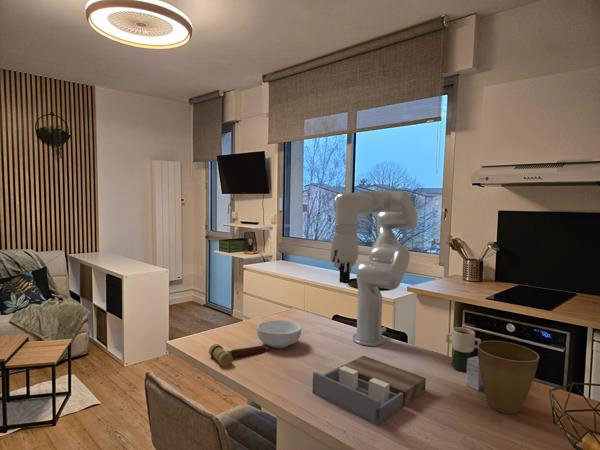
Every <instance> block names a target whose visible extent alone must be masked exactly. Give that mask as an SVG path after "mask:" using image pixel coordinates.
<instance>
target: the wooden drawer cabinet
mask: <svg viewBox="0 0 600 450" xmlns="http://www.w3.org/2000/svg"><path fill="white" fill-rule="evenodd" d="M343 366H346V367H348V368H351V369H353V370H356V371H358V378H359V379H361V380H364V381H366V382H369V380H371V379H373V378H376V379H378V380H381V381H383V382H386V383H388V384H390V385H389V391H390V392H393V393H395V394H399V393H400V392H401V393H403V407H405V406H407V405H408V404H410V403H411V402H412V401H414V400H415V399H417V398H418V397H419V396H421V395H422V394H424V393H425V392H426V383H427V382H426V380H427V379H426V377H423V376H420V375H418V374H415V373H413V372H410V371H407V370H404V369H402V368H399V367H397V366H394V365H391V364H387V363H385V362H383V361H380V360H377V359H375V358H372V357H369V356H366V355H362V356H360V357H357V358H356V359H354V360H352V361H349V362H347V363H345V364H343V365H341V366H340V368H341V367H343Z"/></svg>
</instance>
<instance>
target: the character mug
mask: <svg viewBox="0 0 600 450" xmlns="http://www.w3.org/2000/svg"><path fill="white" fill-rule="evenodd" d="M450 337H451V339H450ZM445 342H446V343H449V344H451V348H452V349H453V350H454V351H453V355H452V360H451V366H452V367H453V368H454V369H456V370H459V371H467V359H468V358H472V355H471V354H472V352H474V350H475V349H477V345H478V343H480V342H482V339H481V338H478V337H476V332H475V330H473V329H471V328H468V327H461V326H457V327H452V329H451V333H450V332H446V333H445ZM475 342H477V344H476V343H475Z"/></svg>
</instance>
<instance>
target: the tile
mask: <svg viewBox="0 0 600 450" xmlns="http://www.w3.org/2000/svg"><path fill="white" fill-rule="evenodd" d="M389 385H390V384H388V383H386V382H383V381H381V380H378V379H376V378H373V379H371V380H369V389H368V395H369V396H371V397H373V398H375V399H378V400H380V401H381V402H380V404H383V403H385V402H386V401H388V400H389Z"/></svg>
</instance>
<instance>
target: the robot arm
mask: <svg viewBox="0 0 600 450" xmlns="http://www.w3.org/2000/svg"><path fill="white" fill-rule="evenodd" d="M333 207H334V210H335V219H334V220H335V221H334V226H335V227H334V228H335V229H334V233H333V237H332V240H331V241H332V242H331V250H330V262H331V263H333V267H335V268H338V269H337V270H338V271H339V281H338V282H339V283H342V284H345V285H346V284H350V280H351V279H350V278H351V275H350V274H351V273H350V272H351V271H352V267H353V266H354V265H356V263H357V260H359V259H358V258H359V238H358V224H359V223H358V219H359V216H360V215H361V216H364V215H368V214H376V228H377V238H376V239H375V242H374V244H373V245H372V248H371V250H370V252H369V254H368V260H367V261H365V260H364V261H362V262H360V263H359V264H358V265H357V266H356V272H355V274H356V283H357V312H356V313H357V316H356V333H354V334H352V340H353V342H354V343H356V344H358V345H361V346H366V347H377V346H378V347H379V346H382V345H383V344H385V342H386V340H385V339H386V338H385V337H384V336H382V334H383V333H385V332H386V331H387V327H385V326H383V327H382V317H383V316H382V315H383V296H382V292H381V291H380V289H389V290H395V289H397V288H399V286H400V284H401V283H402V280H403V279H404V277H405V273H406V271H407V269H408V267H409V264H410V258H411V257H410V256H411V255H410V250H409V249H408V248H407V247H406V246H404V245H402V244H401V245H400V244H398V243H399V242H398V238H397V236H396V234H395V233H394V232H393V231H392V229H395V230H398V229H399V230H413V229H414V228H416V226H417V223H418V214H417V212H416V211H417V210H416V208H415V205H414V203H413V200H412V198H411V196H410V195H409V193H408V192H406V191H405V190H404V191H403V190H374V191H372V190H371V191H361V192H360V191H359V192H340V193H338V194H337V195H336V196H335V197H334V199H333ZM379 288H380V289H379Z"/></svg>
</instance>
